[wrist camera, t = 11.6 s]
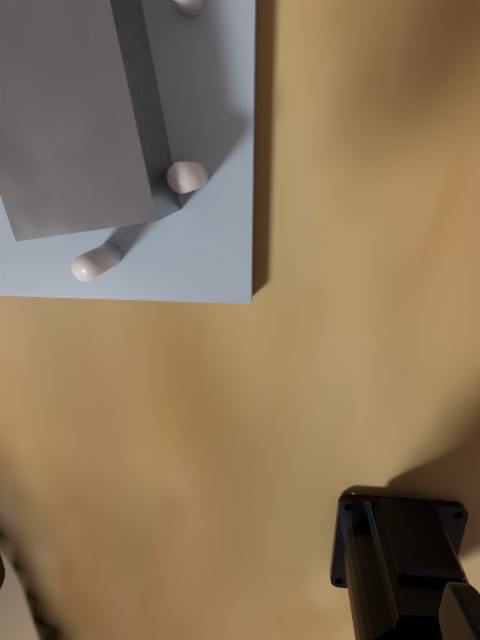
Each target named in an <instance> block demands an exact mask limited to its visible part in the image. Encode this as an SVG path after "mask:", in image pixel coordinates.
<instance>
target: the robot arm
mask: <svg viewBox="0 0 480 640" xmlns="http://www.w3.org/2000/svg"><path fill="white" fill-rule="evenodd" d="M346 504H351V505H346ZM455 512H457V513H455ZM467 518H468V512H467V510H466V509H465V507H464V505H463V504H462V503H459V502H451V501H436V500H422V499H408V498H394V497H379V496H365V495H351V494H347V495H343V496H341V497H340V498H339V500H338V507H337V516H336V525H335V534H334V542H333V551H332V560H331V569H330V579H331V584H332V585H333V586H335V587H339V588H348V594H349V600H350V607H351V613H352V620H353V626H354V633H355V639H356V640H480V593H479V592H478V591H477V590H476V589H475V588H474V587H473V586H471V585H470V584H469V582H468V579H467V577H466V575H465V572H464V570H463V568H462V566H461V563H460V561H459V559H458V557H457V556H458V552H459V549H460V545H461V541H462V537H463V533H464V530H465V526H466V522H467ZM4 578H5V568H4V564H3V560H2V557H1V553H0V589H1V586H2V584H3V581H4Z"/></svg>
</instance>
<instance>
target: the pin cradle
mask: <svg viewBox="0 0 480 640" xmlns="http://www.w3.org/2000/svg"><path fill="white" fill-rule="evenodd" d="M141 2H142V7H143V12H144V18H145V23H146V28H147V33H148V38H149V44H150V49H151V54H152V59H153V64H154V70H155V75H156V80H157V85H158V90H159V96H160V101H161V106H162V111H163V116H164V121H165V127H166V132H167V137H168V142H169V147H170V153H171V158H172V163H173V165H172V166H171V167H170V168H169V170H168V173H167V181H168V184H169V186H170V187H171V188H172V189H173V190H174V191H176V192H178V194H179V199H180V205H181V210H179V211H177V212H175V213H173V214H171V215H169V216H167V217H165V218H163V219H161V220H159V221H155V222H148V223H141V224H135V225H128V226H121V227H114V228H107V229H100V230H93V231H86V232H79V233H72V234H65V235H58V236H52V237H45V238H38V239H31V240H24V241H17V242H16V240H15V237H14V234H13V231H12V228H11V225H10V223H9V220H8V217H7V214H6V211H5V208H4V205H3V202H2V199H1V196H0V296H25V297H56V298H87V299H118V300H149V301H180V302H211V303H242V304H251V302H252V297H253V233H254V162H255V91H256V19H257V0H141Z"/></svg>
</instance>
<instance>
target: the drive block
mask: <svg viewBox="0 0 480 640" xmlns="http://www.w3.org/2000/svg"><path fill="white" fill-rule="evenodd" d="M172 165H173V163H172V158H171V153H170V147H169V142H168V137H167V132H166V127H165V121H164V116H163V111H162V106H161V101H160V96H159V90H158V85H157V80H156V75H155V70H154V64H153V59H152V54H151V49H150V44H149V38H148V33H147V28H146V23H145V18H144V12H143V7H142V2H141V0H0V196H1V199H2V202H3V205H4V208H5V211H6V214H7V217H8V220H9V223H10V225H11V228H12V231H13V234H14V237H15V240H16V242H17V241H24V240H31V239H38V238H45V237H52V236H58V235H65V234H72V233H79V232H86V231H93V230H100V229H107V228H114V227H121V226H128V225H135V224H141V223H148V222H155V221H159V220H161V219H163V218H165V217H167V216H169V215H171V214H173V213H175V212H177V211H179V210H181V205H180V199H179V194H178V192H176V191H174V190H173V189H172V188H171V187H170V186H169V184H168V181H167V173H168V170H169V168H170V167H171V166H172Z"/></svg>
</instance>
